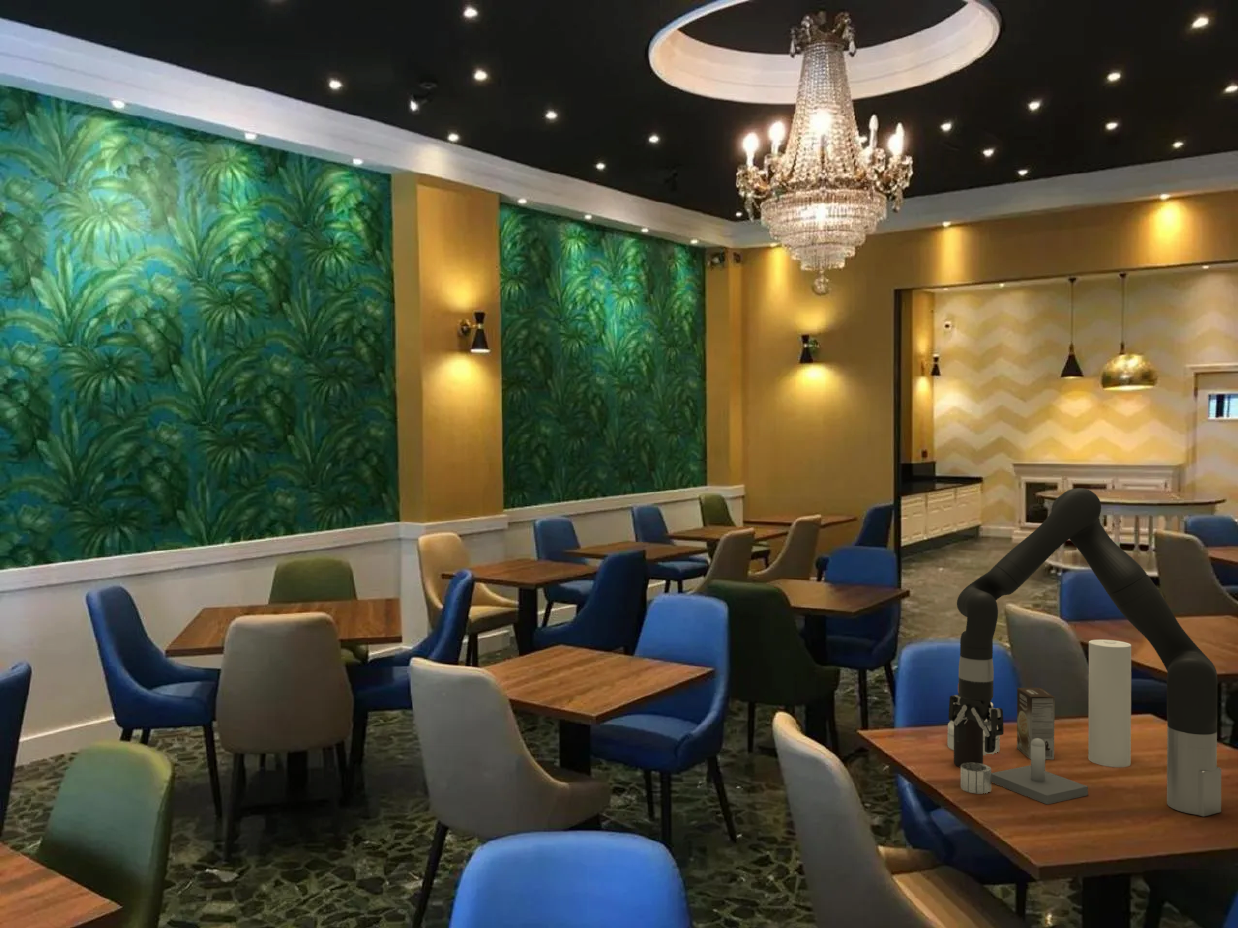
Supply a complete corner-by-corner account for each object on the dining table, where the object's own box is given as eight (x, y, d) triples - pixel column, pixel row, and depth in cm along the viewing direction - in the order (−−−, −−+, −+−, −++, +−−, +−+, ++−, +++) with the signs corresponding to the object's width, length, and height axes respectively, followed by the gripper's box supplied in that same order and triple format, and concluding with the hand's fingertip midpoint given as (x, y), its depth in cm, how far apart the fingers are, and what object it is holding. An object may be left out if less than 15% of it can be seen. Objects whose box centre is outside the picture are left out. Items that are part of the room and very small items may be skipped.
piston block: (1087, 795, 214) (1088, 744, 214) (1046, 804, 209) (1047, 752, 208) (1029, 773, 229) (1029, 725, 228) (989, 781, 223) (989, 732, 223)
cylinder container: (1105, 752, 244) (1105, 636, 244) (1139, 763, 236) (1139, 642, 235) (1079, 758, 240) (1080, 639, 240) (1113, 769, 232) (1113, 646, 231)
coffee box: (1015, 748, 248) (1015, 686, 248) (1040, 748, 248) (1040, 687, 248) (1030, 759, 239) (1030, 695, 239) (1055, 759, 239) (1056, 696, 239)
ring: (997, 790, 217) (997, 769, 217) (976, 795, 214) (976, 773, 214) (975, 782, 223) (975, 760, 223) (954, 786, 220) (954, 764, 220)
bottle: (989, 766, 234) (989, 685, 233) (970, 771, 230) (970, 688, 230) (966, 758, 240) (966, 679, 239) (947, 763, 236) (947, 683, 236)
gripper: (1012, 681, 214) (1011, 753, 214) (964, 668, 226) (963, 736, 227) (987, 685, 210) (986, 758, 211) (940, 671, 223) (939, 740, 224)
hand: (974, 746), depth 219 cm, fingers open, 8 cm apart
